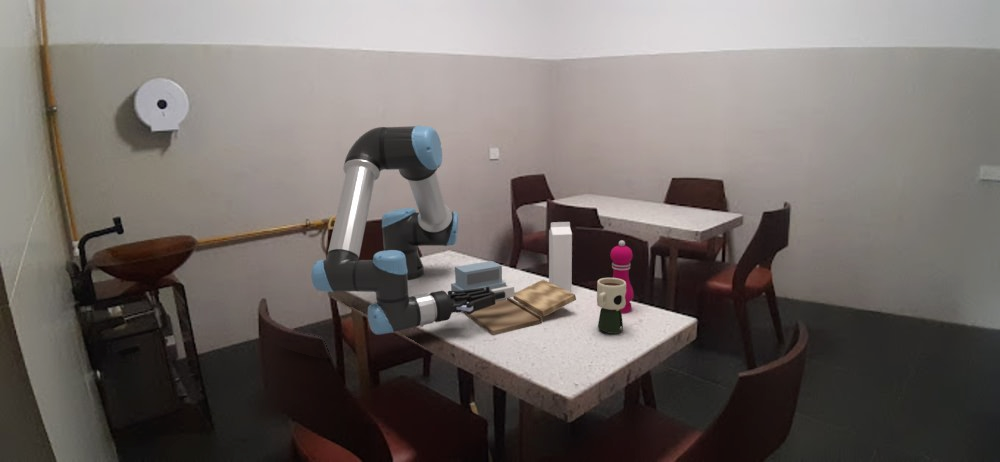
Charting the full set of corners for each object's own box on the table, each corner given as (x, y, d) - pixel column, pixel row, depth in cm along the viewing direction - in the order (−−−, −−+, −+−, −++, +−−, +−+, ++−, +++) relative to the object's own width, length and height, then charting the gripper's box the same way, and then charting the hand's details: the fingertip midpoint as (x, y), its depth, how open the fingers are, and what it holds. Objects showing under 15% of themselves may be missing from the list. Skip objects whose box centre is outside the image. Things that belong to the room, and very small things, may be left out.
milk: (571, 293, 159) (572, 223, 154) (552, 294, 158) (552, 224, 154) (567, 287, 165) (568, 219, 160) (548, 287, 164) (548, 220, 159)
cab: (444, 305, 151) (442, 267, 148) (500, 294, 159) (499, 258, 157) (455, 314, 144) (453, 274, 141) (513, 301, 153) (513, 264, 150)
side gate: (512, 294, 150) (542, 279, 154) (513, 299, 151) (544, 284, 155) (542, 311, 136) (575, 294, 141) (543, 316, 137) (576, 299, 141)
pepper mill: (618, 315, 140) (620, 244, 136) (601, 307, 147) (603, 239, 142) (638, 310, 144) (641, 241, 139) (621, 303, 150) (623, 236, 145)
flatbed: (463, 312, 145) (462, 306, 145) (508, 302, 152) (508, 297, 151) (492, 335, 129) (492, 328, 129) (542, 323, 136) (542, 316, 136)
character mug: (611, 341, 125) (613, 290, 122) (586, 333, 129) (587, 284, 126) (633, 327, 132) (635, 279, 130) (609, 320, 137) (610, 273, 134)
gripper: (423, 313, 134) (501, 297, 146) (442, 330, 123) (525, 311, 134) (421, 286, 133) (500, 271, 144) (441, 301, 122) (525, 284, 133)
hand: (512, 290), depth 139 cm, fingers closed
